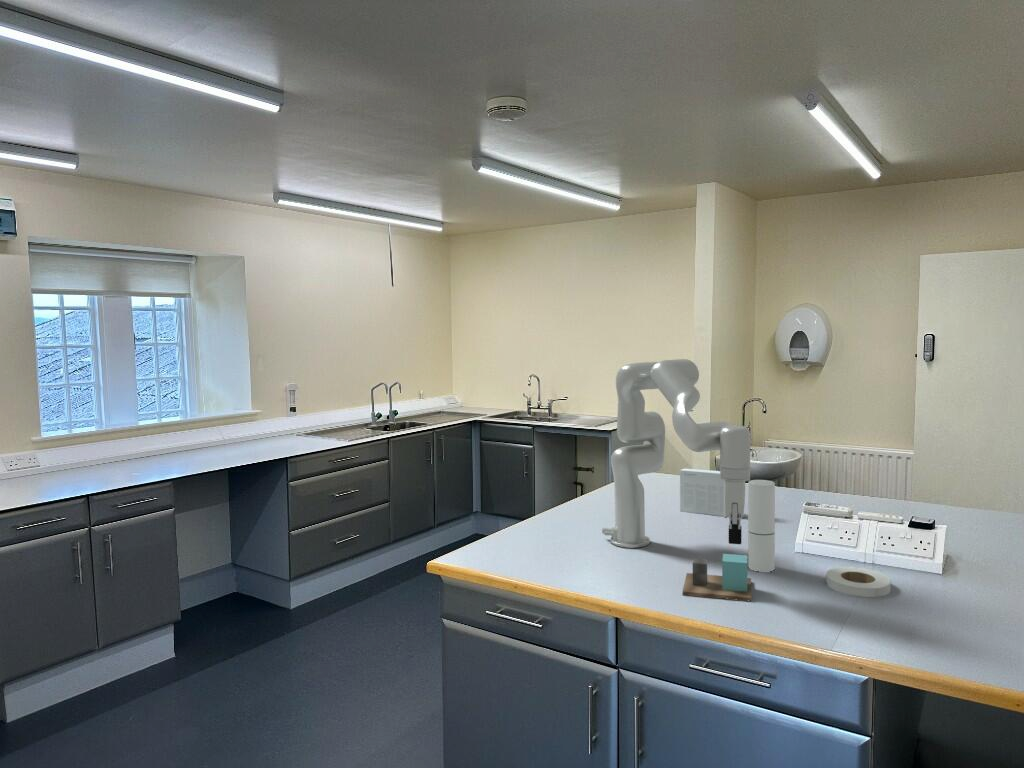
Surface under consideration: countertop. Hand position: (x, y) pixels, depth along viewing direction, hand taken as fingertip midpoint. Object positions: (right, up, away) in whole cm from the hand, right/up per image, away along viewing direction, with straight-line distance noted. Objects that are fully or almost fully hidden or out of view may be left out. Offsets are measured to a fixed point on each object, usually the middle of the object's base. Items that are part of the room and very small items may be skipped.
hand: (735, 541), depth 183 cm
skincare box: (+15, -7, +76) cm, 78 cm away
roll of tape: (+33, -13, +2) cm, 36 cm away
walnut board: (-4, -13, +2) cm, 14 cm away
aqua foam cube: (0, -12, +1) cm, 12 cm away
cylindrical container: (+13, -12, +17) cm, 24 cm away
